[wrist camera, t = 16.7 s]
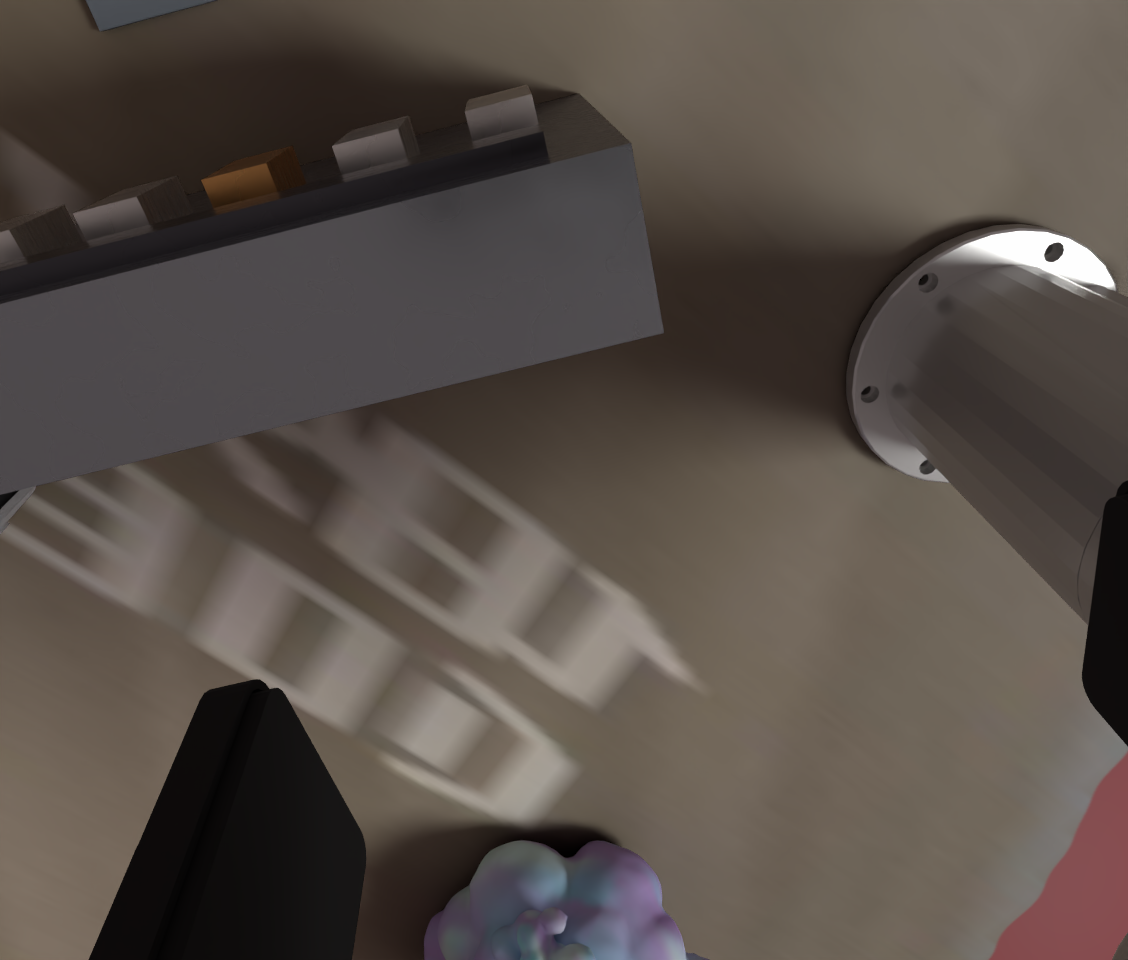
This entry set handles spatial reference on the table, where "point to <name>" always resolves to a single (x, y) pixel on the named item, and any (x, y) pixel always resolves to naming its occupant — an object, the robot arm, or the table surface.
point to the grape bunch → (557, 909)
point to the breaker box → (317, 284)
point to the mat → (134, 10)
